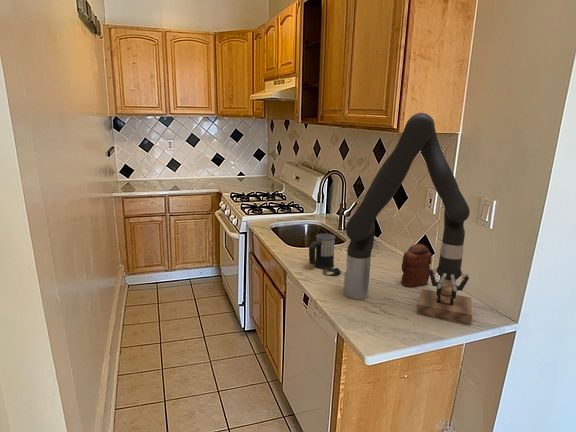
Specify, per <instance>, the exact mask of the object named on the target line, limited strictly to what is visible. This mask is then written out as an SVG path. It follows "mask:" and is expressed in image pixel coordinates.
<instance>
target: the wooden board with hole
mask: <svg viewBox="0 0 576 432" xmlns="http://www.w3.org/2000/svg"><path fill="white" fill-rule="evenodd" d="M436 292H437V290H432V289H427V288H421V290H420V294H419V297H418V302H417V309H416V315H418V316H419V315H420V316H423V317H429V318H434V319H439V320H443V321H449V322H452V323H459V324H464V325H467V326H471V325H472V318H473V304H472V303H473V302H472V301H473V300H472V299H473V298H472V296H471V297H470V296H463V295H460V294H456V298H455V299H453V300H451V302H450V305H446V304H441V303H440V298H439V297H438V296H437V295H436ZM440 296H441V294H440ZM451 297H452V296H451Z"/></svg>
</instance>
